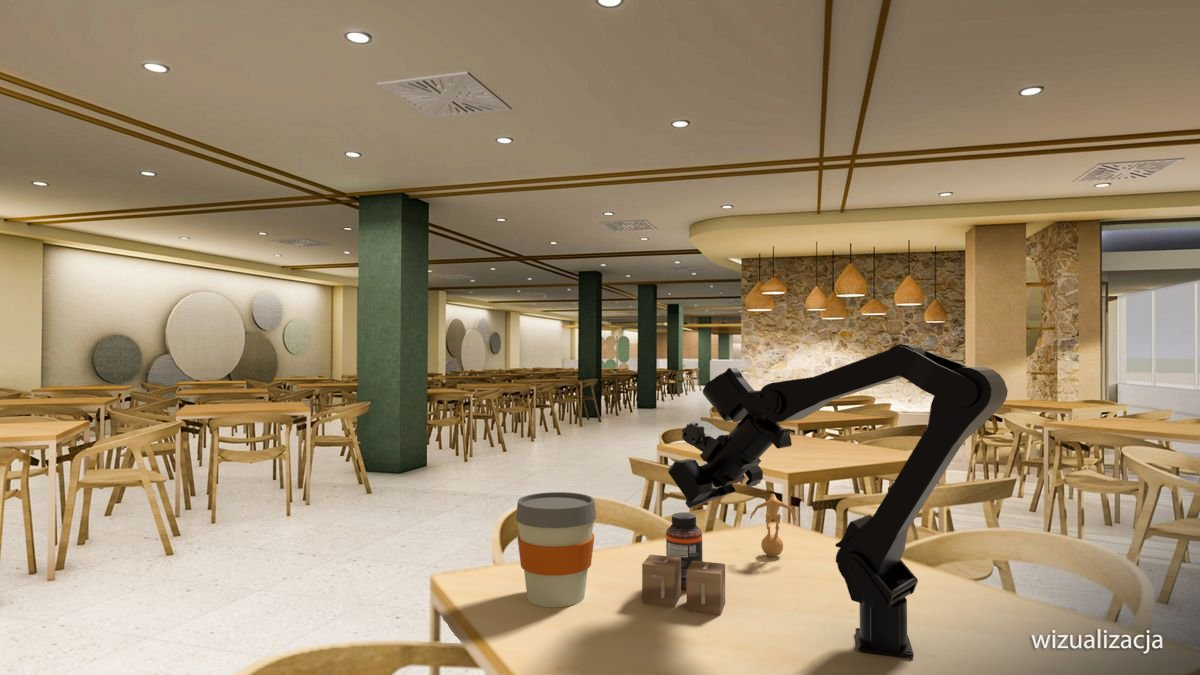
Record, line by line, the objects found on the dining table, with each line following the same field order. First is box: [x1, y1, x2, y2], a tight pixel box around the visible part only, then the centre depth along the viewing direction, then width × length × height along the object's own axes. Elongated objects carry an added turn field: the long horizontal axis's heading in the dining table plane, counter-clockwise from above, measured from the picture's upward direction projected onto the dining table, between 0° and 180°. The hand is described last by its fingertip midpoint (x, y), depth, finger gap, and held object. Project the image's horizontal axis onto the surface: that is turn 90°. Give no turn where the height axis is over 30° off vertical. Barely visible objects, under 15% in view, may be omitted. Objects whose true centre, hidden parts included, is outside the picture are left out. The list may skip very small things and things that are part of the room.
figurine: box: [749, 493, 797, 557], centre depth 124 cm, size 8×6×12 cm
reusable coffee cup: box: [515, 491, 597, 608], centre depth 104 cm, size 13×13×15 cm
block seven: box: [641, 554, 682, 608], centre depth 103 cm, size 5×5×6 cm
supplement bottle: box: [665, 511, 704, 590], centre depth 110 cm, size 6×6×11 cm
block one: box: [686, 560, 726, 616], centre depth 100 cm, size 5×5×6 cm
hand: (688, 505), depth 110 cm, fingers closed
